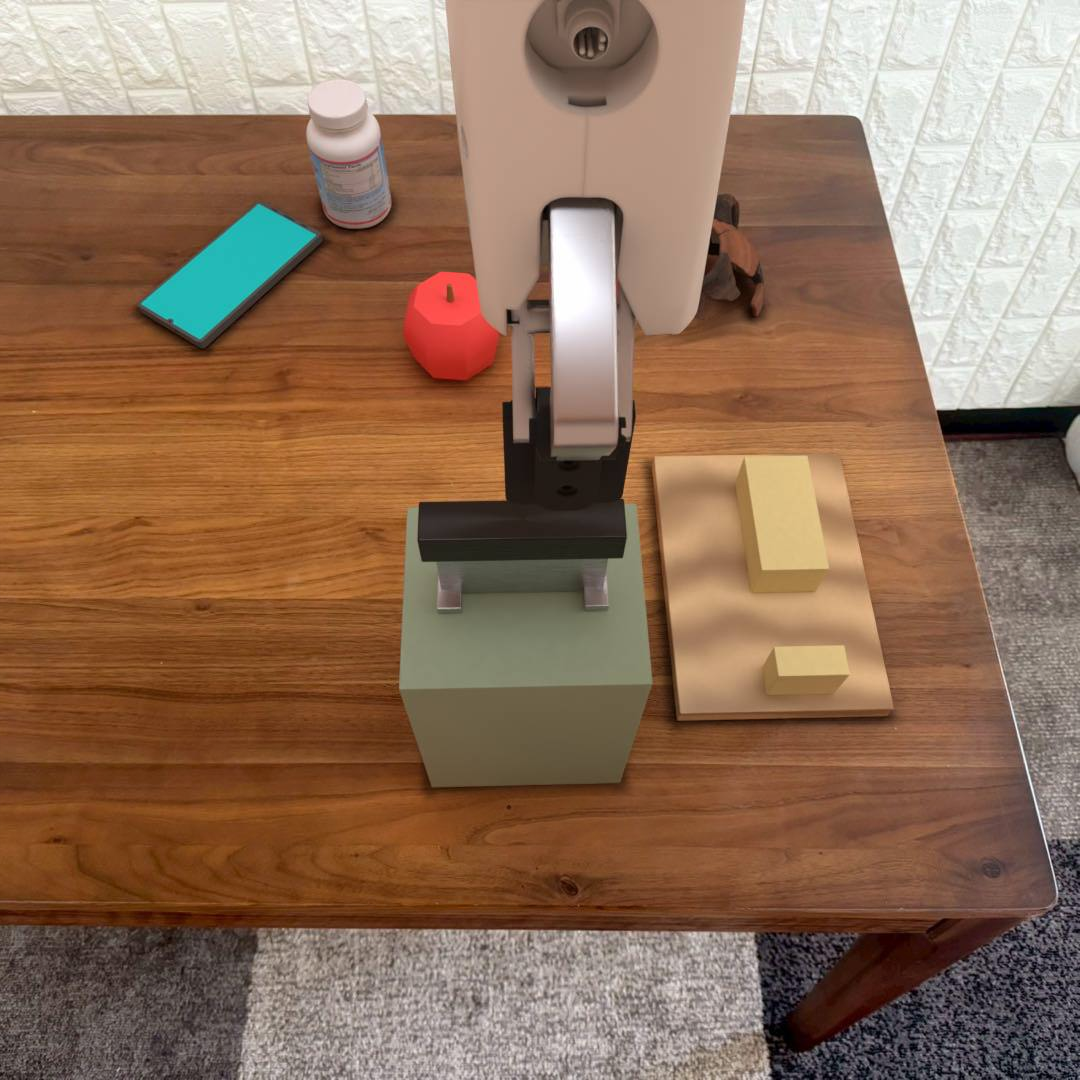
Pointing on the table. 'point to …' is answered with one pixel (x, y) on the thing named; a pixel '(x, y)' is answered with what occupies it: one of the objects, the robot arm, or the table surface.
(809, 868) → the table surface
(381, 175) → the pill bottle
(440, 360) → the apple
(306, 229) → the smartphone
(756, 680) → the board
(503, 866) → the table surface
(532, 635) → the stand
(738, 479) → the butter stick
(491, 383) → the table surface
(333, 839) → the table surface
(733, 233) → the broken pottery vessel
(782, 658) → the butter slice
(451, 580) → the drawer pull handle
